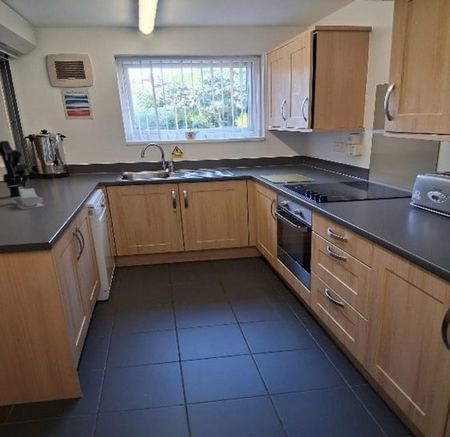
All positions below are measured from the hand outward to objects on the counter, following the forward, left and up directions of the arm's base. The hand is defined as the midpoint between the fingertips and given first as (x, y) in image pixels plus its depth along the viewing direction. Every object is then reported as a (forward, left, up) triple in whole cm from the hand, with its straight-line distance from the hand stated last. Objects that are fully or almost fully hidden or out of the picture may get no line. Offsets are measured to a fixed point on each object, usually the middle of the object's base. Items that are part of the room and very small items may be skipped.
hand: (24, 187), depth 227 cm
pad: (+16, +3, -10) cm, 19 cm away
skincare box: (+5, +1, -3) cm, 6 cm away
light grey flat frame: (-1, 0, -10) cm, 10 cm away
